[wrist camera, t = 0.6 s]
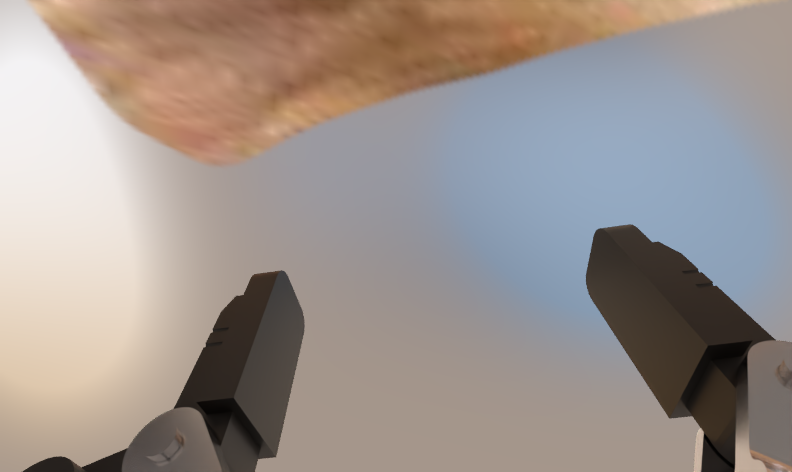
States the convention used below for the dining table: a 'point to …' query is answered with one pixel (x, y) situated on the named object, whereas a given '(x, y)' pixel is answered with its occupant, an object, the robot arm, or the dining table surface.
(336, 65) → the dining table surface
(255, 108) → the dining table surface
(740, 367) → the robot arm
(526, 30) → the dining table surface
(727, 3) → the dining table surface
